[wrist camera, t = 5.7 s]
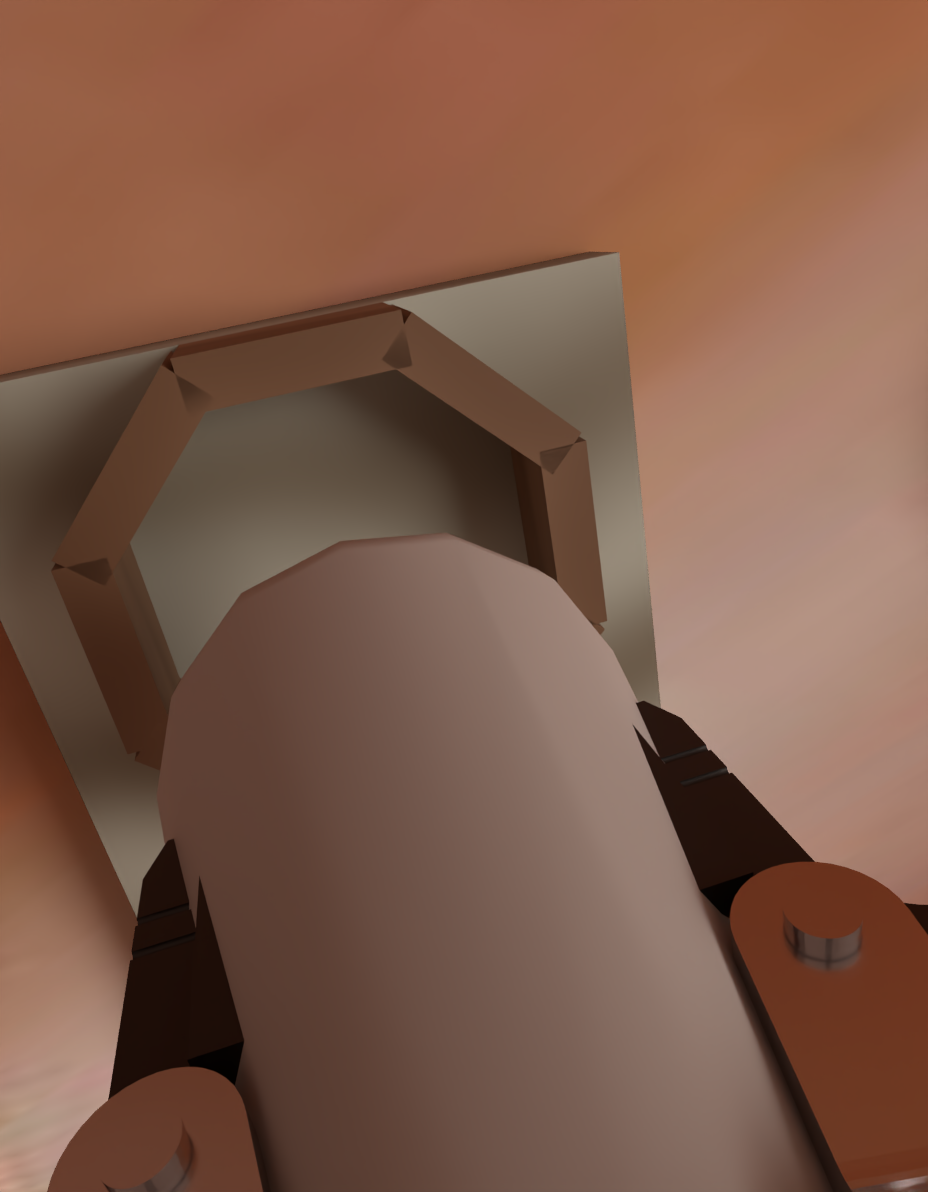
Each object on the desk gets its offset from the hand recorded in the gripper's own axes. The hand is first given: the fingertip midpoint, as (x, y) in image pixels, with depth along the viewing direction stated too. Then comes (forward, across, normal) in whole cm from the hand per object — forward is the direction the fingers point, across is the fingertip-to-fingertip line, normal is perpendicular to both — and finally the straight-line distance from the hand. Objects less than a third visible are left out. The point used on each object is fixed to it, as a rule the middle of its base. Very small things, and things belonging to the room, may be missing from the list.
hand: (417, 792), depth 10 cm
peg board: (+10, 0, +4) cm, 10 cm away
